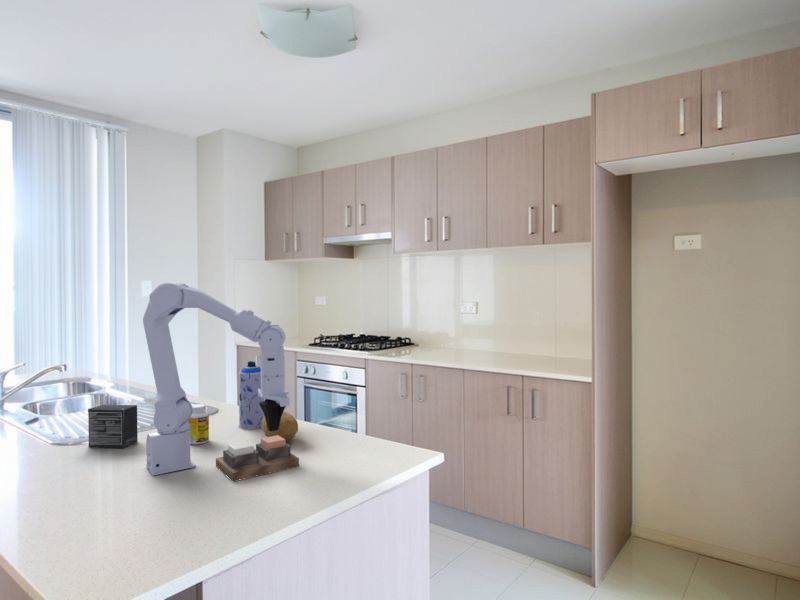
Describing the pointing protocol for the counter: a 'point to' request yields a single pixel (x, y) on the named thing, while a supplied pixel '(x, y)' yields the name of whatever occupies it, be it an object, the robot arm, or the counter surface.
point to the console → (256, 462)
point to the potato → (283, 427)
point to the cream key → (240, 448)
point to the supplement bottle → (199, 425)
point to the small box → (112, 426)
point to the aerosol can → (250, 397)
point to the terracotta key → (273, 442)
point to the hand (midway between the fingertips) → (273, 430)
